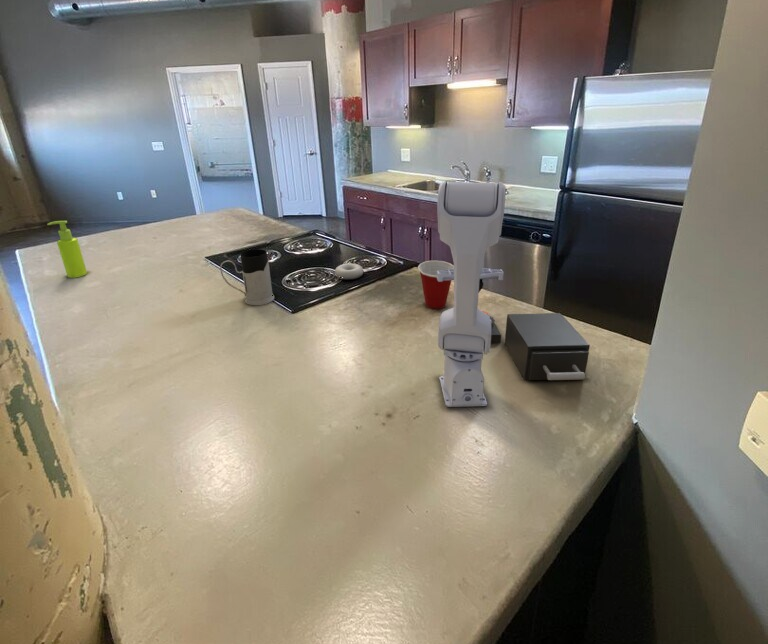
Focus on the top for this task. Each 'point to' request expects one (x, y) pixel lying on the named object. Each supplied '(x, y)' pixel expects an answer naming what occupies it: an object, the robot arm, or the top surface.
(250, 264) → the silver mug
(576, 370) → the drawer
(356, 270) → the donut
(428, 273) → the plastic cup
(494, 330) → the control block
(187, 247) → the top surface
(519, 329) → the grey drawer box
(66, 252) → the soap dispenser
